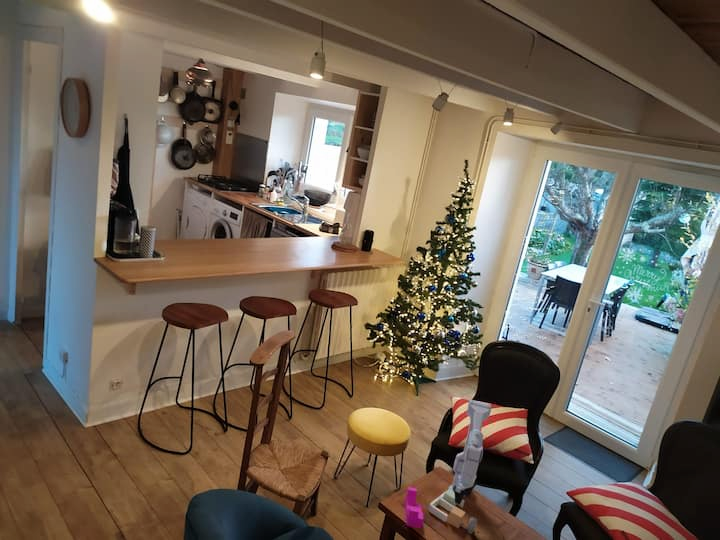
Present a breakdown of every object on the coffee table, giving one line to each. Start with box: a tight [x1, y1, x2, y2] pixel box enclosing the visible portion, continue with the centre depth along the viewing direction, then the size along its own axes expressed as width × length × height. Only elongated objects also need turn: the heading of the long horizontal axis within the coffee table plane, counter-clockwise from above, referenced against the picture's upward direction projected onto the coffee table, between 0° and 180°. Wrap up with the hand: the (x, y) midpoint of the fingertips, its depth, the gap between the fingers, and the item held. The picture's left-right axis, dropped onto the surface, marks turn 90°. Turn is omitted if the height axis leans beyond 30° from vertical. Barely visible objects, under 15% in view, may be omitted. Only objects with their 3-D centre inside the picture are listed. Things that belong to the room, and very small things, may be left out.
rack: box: [427, 490, 465, 523], centre depth 231 cm, size 16×9×3 cm, turn 140°
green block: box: [443, 488, 457, 507], centre depth 234 cm, size 4×5×6 cm
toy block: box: [404, 486, 424, 529], centre depth 224 cm, size 15×6×8 cm, turn 178°
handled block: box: [447, 506, 478, 535], centre depth 222 cm, size 4×11×6 cm, turn 56°
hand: (461, 499), depth 225 cm, fingers open, 7 cm apart
